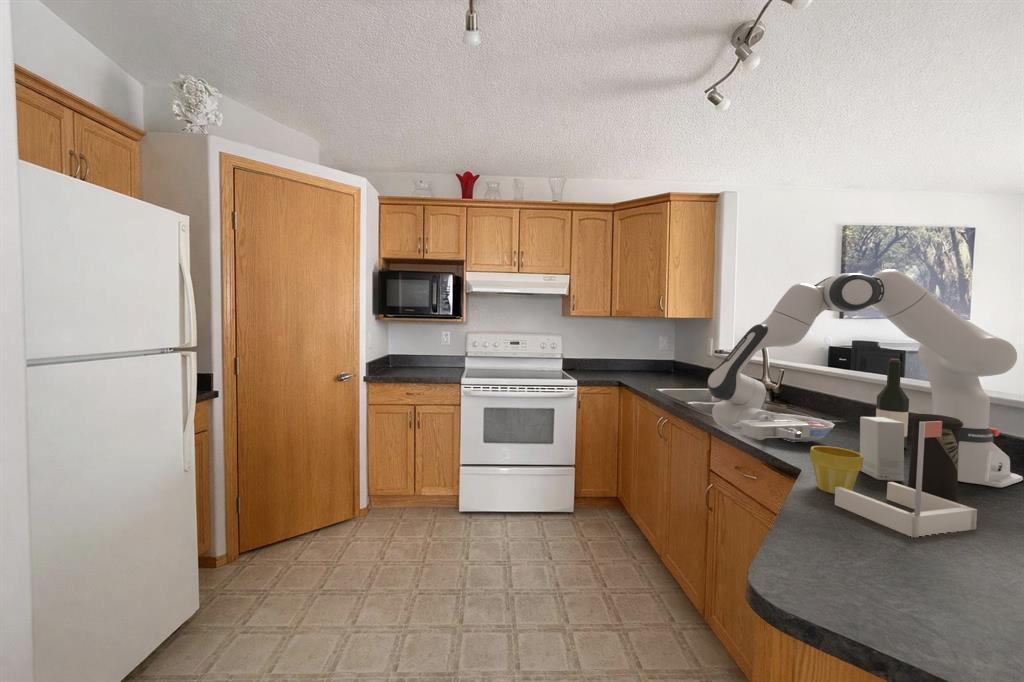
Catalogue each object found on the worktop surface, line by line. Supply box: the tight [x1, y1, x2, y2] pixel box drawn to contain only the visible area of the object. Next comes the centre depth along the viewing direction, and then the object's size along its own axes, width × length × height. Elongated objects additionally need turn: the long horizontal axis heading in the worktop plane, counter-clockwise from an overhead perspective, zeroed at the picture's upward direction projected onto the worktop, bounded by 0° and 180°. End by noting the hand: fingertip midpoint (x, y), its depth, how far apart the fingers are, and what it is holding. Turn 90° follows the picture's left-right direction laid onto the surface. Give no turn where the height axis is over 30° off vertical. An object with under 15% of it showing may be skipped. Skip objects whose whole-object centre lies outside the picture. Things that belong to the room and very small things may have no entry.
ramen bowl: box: [781, 413, 836, 443], centre depth 154 cm, size 25×23×8 cm
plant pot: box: [809, 445, 863, 495], centre depth 106 cm, size 10×10×10 cm
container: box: [907, 413, 963, 503], centre depth 102 cm, size 9×9×20 cm
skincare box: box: [859, 416, 905, 482], centre depth 118 cm, size 8×7×16 cm
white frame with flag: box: [834, 421, 978, 538], centre depth 92 cm, size 17×16×22 cm
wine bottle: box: [875, 358, 910, 448], centre depth 149 cm, size 8×8×30 cm
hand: (798, 436), depth 116 cm, fingers closed
